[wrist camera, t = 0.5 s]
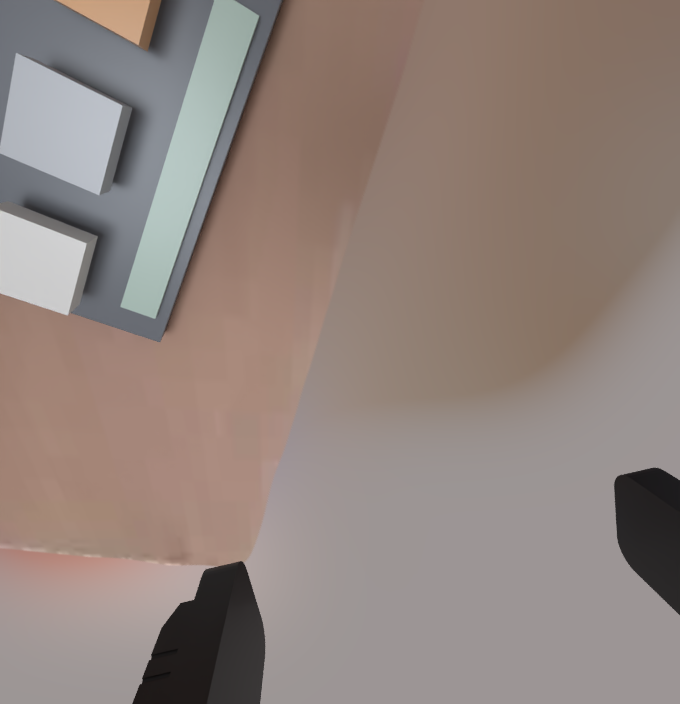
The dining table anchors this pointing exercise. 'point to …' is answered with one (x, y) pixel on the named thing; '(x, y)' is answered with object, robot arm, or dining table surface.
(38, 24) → the keypad board
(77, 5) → the key orange
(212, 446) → the dining table surface
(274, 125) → the dining table surface
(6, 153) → the key grey
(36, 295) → the key white
